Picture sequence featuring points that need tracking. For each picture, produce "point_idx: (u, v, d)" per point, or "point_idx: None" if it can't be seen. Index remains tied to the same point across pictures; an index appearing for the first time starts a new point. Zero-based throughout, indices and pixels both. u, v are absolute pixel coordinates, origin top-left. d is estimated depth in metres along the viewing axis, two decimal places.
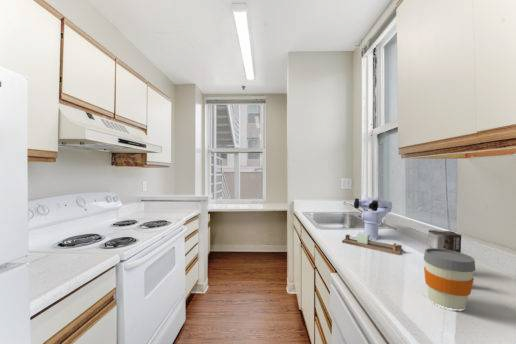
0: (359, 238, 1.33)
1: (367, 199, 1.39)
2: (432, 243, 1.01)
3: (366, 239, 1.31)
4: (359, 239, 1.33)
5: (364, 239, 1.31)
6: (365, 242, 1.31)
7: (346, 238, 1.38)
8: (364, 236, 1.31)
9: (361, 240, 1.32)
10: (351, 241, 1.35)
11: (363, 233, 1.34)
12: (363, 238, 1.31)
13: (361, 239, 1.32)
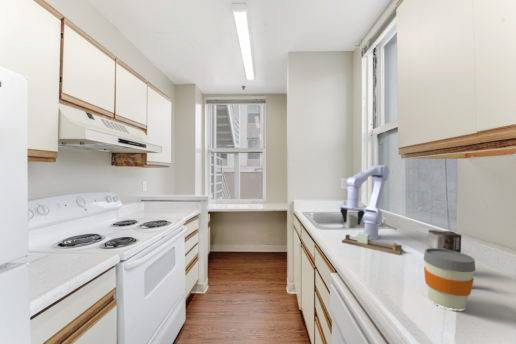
0: (359, 238, 1.33)
1: (351, 208, 1.35)
2: (432, 243, 1.01)
3: (366, 239, 1.31)
4: (359, 239, 1.33)
5: (364, 239, 1.31)
6: (365, 242, 1.31)
7: (346, 238, 1.38)
8: (364, 236, 1.31)
9: (361, 240, 1.32)
10: (351, 241, 1.35)
11: (363, 233, 1.34)
12: (363, 238, 1.31)
13: (361, 239, 1.32)
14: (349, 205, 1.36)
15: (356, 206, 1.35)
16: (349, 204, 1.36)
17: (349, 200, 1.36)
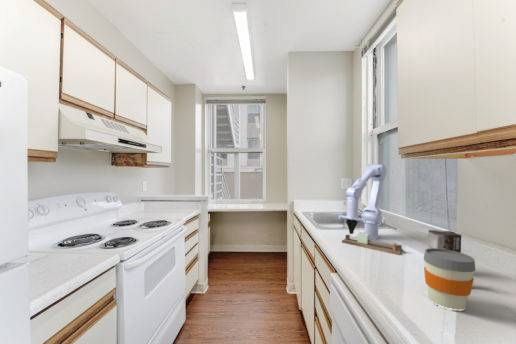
0: (359, 238, 1.33)
1: (350, 219, 1.35)
2: (432, 243, 1.01)
3: (366, 239, 1.31)
4: (359, 239, 1.33)
5: (364, 239, 1.31)
6: (365, 242, 1.31)
7: (346, 238, 1.38)
8: (364, 236, 1.31)
9: (361, 240, 1.32)
10: (351, 241, 1.35)
11: (363, 233, 1.34)
12: (363, 238, 1.31)
13: (361, 239, 1.32)
14: (349, 215, 1.36)
15: (355, 216, 1.35)
16: (349, 214, 1.36)
17: (349, 210, 1.36)
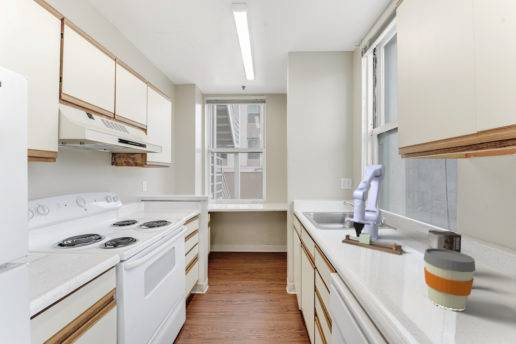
0: (361, 238, 1.32)
1: (358, 222, 1.33)
2: (432, 243, 1.01)
3: (368, 239, 1.30)
4: (361, 239, 1.32)
5: (366, 240, 1.31)
6: (367, 242, 1.30)
7: (346, 238, 1.38)
8: (366, 236, 1.31)
9: (363, 241, 1.32)
10: (351, 241, 1.35)
11: (365, 233, 1.34)
12: (365, 238, 1.31)
13: (363, 239, 1.31)
14: (356, 218, 1.33)
15: (363, 219, 1.32)
16: (356, 217, 1.33)
17: (355, 213, 1.34)
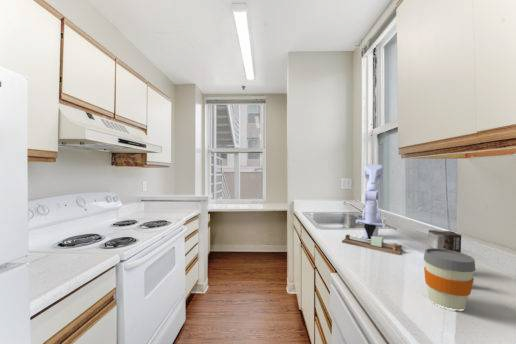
0: (373, 241, 1.28)
1: (369, 223, 1.29)
2: (432, 243, 1.01)
3: (380, 242, 1.26)
4: (373, 242, 1.28)
5: (378, 242, 1.27)
6: (379, 245, 1.27)
7: (346, 238, 1.38)
8: (378, 239, 1.27)
9: (374, 243, 1.28)
10: (351, 241, 1.35)
11: (377, 236, 1.30)
12: (377, 241, 1.27)
13: (375, 242, 1.28)
14: (367, 220, 1.30)
15: (374, 221, 1.29)
16: (367, 219, 1.30)
17: (367, 215, 1.30)
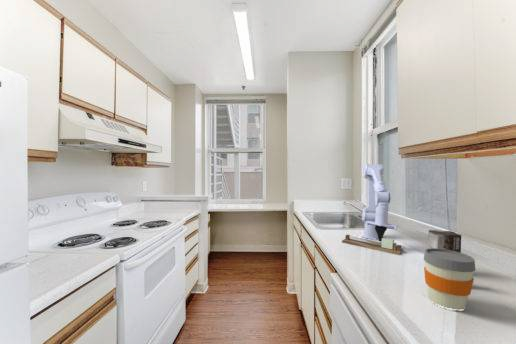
0: (383, 243, 1.25)
1: (380, 225, 1.26)
2: (432, 243, 1.01)
3: (391, 244, 1.23)
4: (383, 244, 1.25)
5: (389, 244, 1.24)
6: (390, 247, 1.23)
7: (346, 238, 1.38)
8: (389, 241, 1.24)
9: (385, 245, 1.25)
10: (351, 241, 1.35)
11: (387, 238, 1.27)
12: (388, 243, 1.24)
13: (386, 244, 1.25)
14: (378, 222, 1.26)
15: (385, 223, 1.25)
16: (378, 220, 1.26)
17: (378, 216, 1.27)
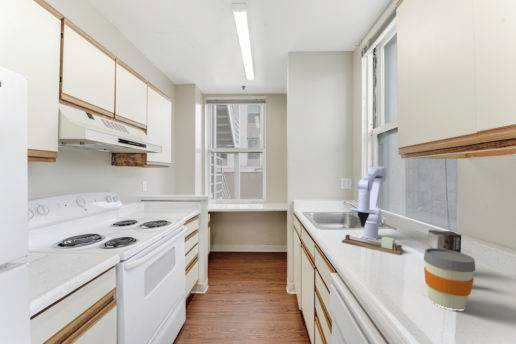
0: (383, 243, 1.25)
1: (362, 211, 1.33)
2: (432, 243, 1.01)
3: (391, 244, 1.23)
4: (383, 244, 1.25)
5: (389, 244, 1.24)
6: (390, 247, 1.23)
7: (346, 238, 1.38)
8: (389, 241, 1.24)
9: (385, 245, 1.25)
10: (351, 241, 1.35)
11: (387, 238, 1.27)
12: (388, 243, 1.24)
13: (385, 244, 1.25)
14: (360, 208, 1.34)
15: (367, 209, 1.33)
16: (360, 207, 1.34)
17: (360, 203, 1.34)
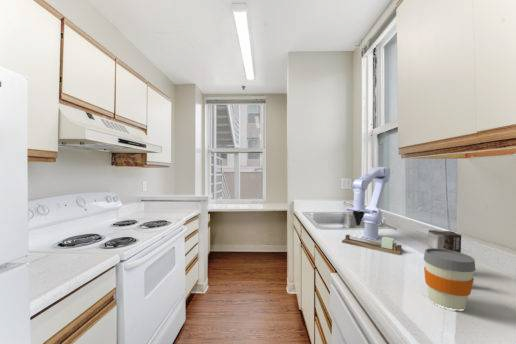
0: (383, 243, 1.25)
1: (357, 210, 1.36)
2: (432, 243, 1.01)
3: (391, 244, 1.23)
4: (383, 244, 1.25)
5: (389, 244, 1.24)
6: (390, 247, 1.23)
7: (346, 238, 1.38)
8: (389, 241, 1.24)
9: (385, 245, 1.25)
10: (351, 241, 1.35)
11: (387, 238, 1.27)
12: (388, 243, 1.24)
13: (385, 244, 1.25)
14: (355, 207, 1.36)
15: (362, 208, 1.35)
16: (355, 206, 1.36)
17: (355, 202, 1.37)
